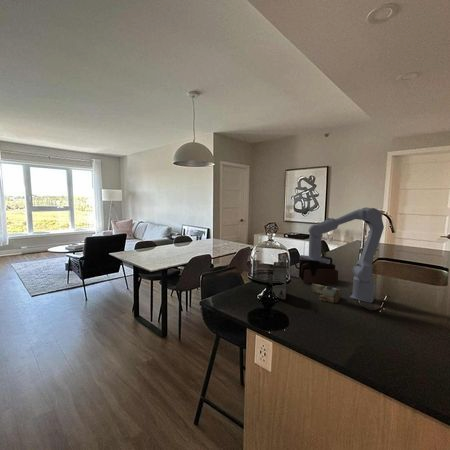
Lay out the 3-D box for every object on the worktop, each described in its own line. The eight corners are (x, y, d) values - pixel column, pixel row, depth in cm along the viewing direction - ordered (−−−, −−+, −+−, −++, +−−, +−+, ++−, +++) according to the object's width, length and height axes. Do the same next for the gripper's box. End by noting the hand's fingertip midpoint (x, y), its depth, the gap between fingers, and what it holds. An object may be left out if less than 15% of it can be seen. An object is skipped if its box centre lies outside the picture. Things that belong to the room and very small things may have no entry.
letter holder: (298, 278, 154) (299, 255, 153) (331, 278, 154) (332, 256, 153) (303, 283, 145) (304, 259, 143) (338, 284, 144) (339, 259, 143)
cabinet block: (335, 298, 123) (336, 286, 122) (332, 301, 119) (333, 289, 118) (325, 296, 126) (326, 284, 125) (322, 299, 122) (322, 287, 122)
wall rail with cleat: (341, 297, 124) (341, 289, 123) (335, 303, 116) (335, 295, 116) (312, 290, 133) (312, 283, 133) (305, 296, 126) (305, 288, 125)
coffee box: (272, 291, 131) (273, 261, 130) (285, 292, 130) (286, 262, 129) (272, 298, 123) (273, 266, 121) (286, 299, 121) (287, 266, 120)
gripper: (297, 248, 127) (296, 274, 128) (327, 252, 118) (325, 280, 119) (303, 246, 132) (302, 271, 134) (331, 249, 123) (330, 276, 125)
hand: (313, 275), depth 127 cm, fingers closed
